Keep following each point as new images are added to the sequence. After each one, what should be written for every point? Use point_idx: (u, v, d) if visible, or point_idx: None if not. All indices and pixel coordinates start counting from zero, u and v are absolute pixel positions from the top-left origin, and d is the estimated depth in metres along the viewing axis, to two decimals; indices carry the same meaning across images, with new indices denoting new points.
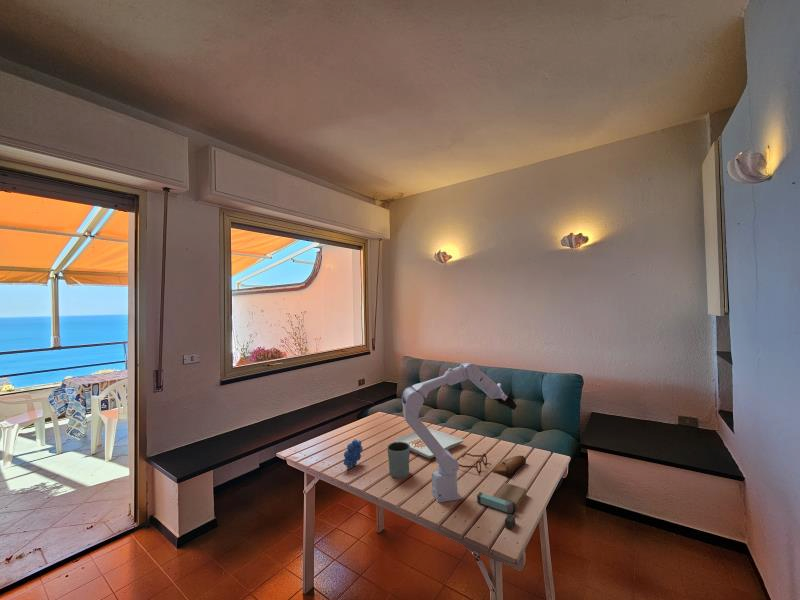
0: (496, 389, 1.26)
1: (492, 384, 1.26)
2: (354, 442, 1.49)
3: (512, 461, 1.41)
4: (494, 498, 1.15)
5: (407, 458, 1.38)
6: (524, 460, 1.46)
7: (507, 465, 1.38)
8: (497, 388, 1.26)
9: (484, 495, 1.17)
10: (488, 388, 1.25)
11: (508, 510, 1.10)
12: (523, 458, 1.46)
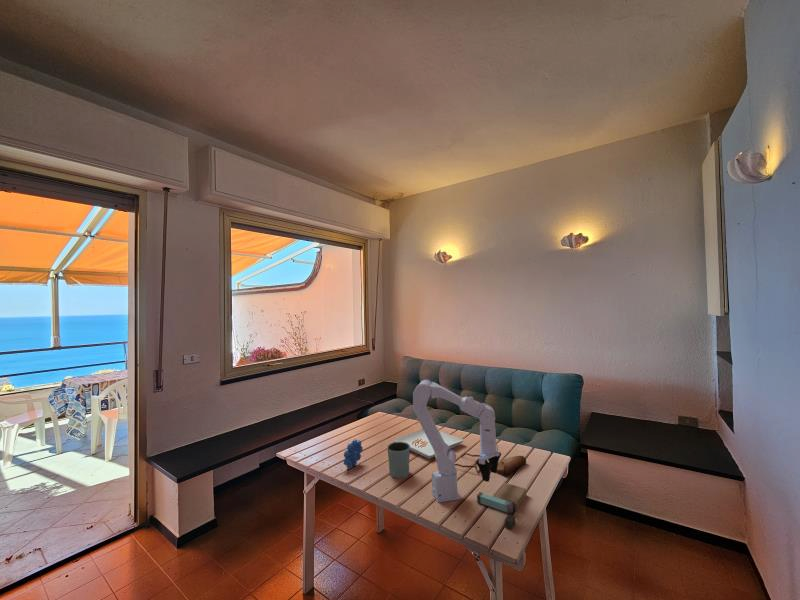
0: (488, 451, 1.17)
1: (489, 444, 1.17)
2: (354, 442, 1.49)
3: (511, 461, 1.42)
4: (494, 498, 1.15)
5: (407, 458, 1.38)
6: (524, 460, 1.46)
7: (505, 464, 1.39)
8: (490, 452, 1.17)
9: (484, 495, 1.17)
10: (483, 442, 1.18)
11: (508, 510, 1.10)
12: (523, 458, 1.46)
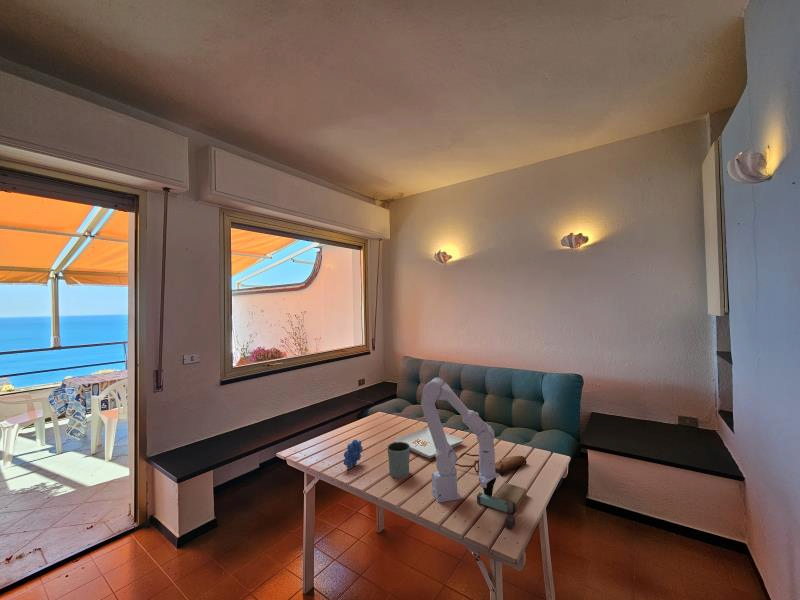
0: (488, 473, 1.15)
1: (489, 466, 1.15)
2: (354, 442, 1.49)
3: (510, 461, 1.42)
4: (494, 498, 1.15)
5: (407, 458, 1.38)
6: (524, 461, 1.45)
7: (502, 463, 1.40)
8: (490, 474, 1.15)
9: (484, 495, 1.17)
10: (482, 464, 1.16)
11: (508, 510, 1.10)
12: (523, 458, 1.46)
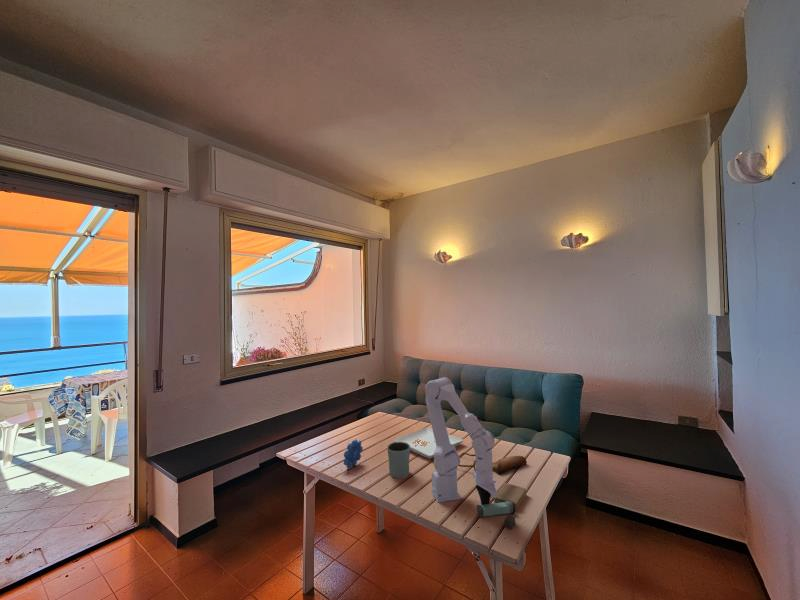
0: (490, 481, 1.10)
1: (491, 473, 1.10)
2: (354, 442, 1.49)
3: (508, 460, 1.43)
4: (494, 504, 1.11)
5: (407, 458, 1.38)
6: (524, 461, 1.45)
7: (500, 463, 1.40)
8: (491, 481, 1.10)
9: (484, 506, 1.10)
10: (485, 473, 1.10)
11: (511, 510, 1.10)
12: (523, 459, 1.45)
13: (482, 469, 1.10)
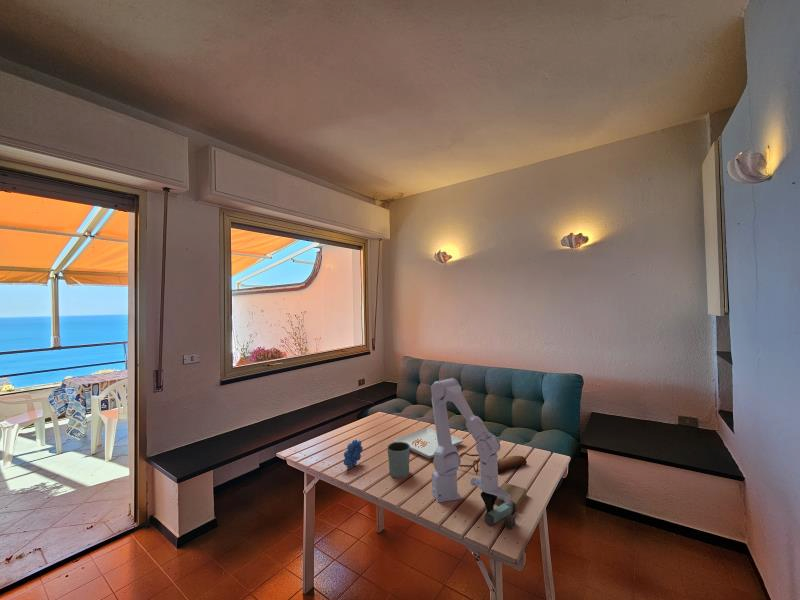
0: (497, 485, 1.07)
1: (497, 477, 1.08)
2: (354, 442, 1.49)
3: (508, 460, 1.43)
4: (498, 508, 1.09)
5: (407, 458, 1.38)
6: (524, 461, 1.45)
7: (499, 462, 1.41)
8: None
9: (491, 513, 1.06)
10: (494, 478, 1.06)
11: (512, 509, 1.10)
12: (523, 459, 1.45)
13: (486, 474, 1.06)
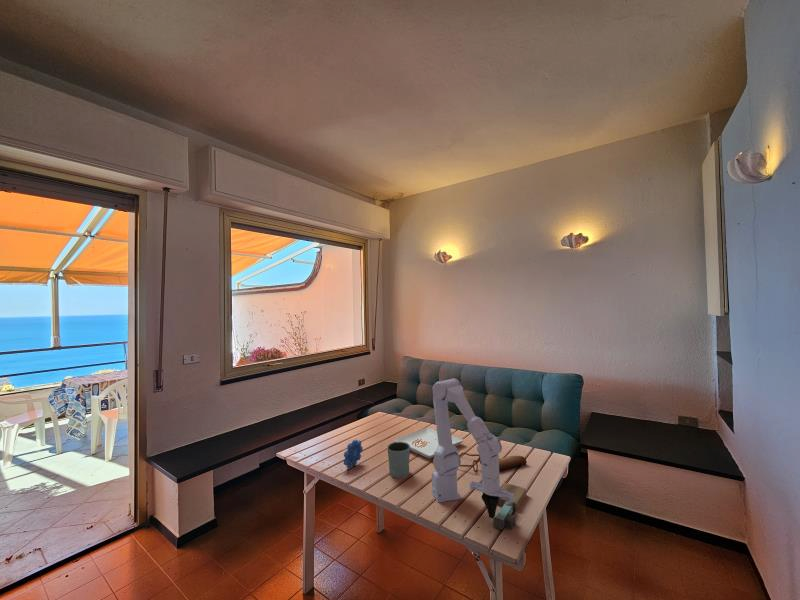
0: (499, 486, 1.06)
1: None
2: (354, 442, 1.49)
3: (507, 459, 1.43)
4: (502, 511, 1.07)
5: (407, 458, 1.38)
6: (523, 461, 1.45)
7: None
8: None
9: (499, 516, 1.04)
10: (497, 479, 1.05)
11: (512, 509, 1.11)
12: (523, 459, 1.45)
13: (487, 476, 1.05)
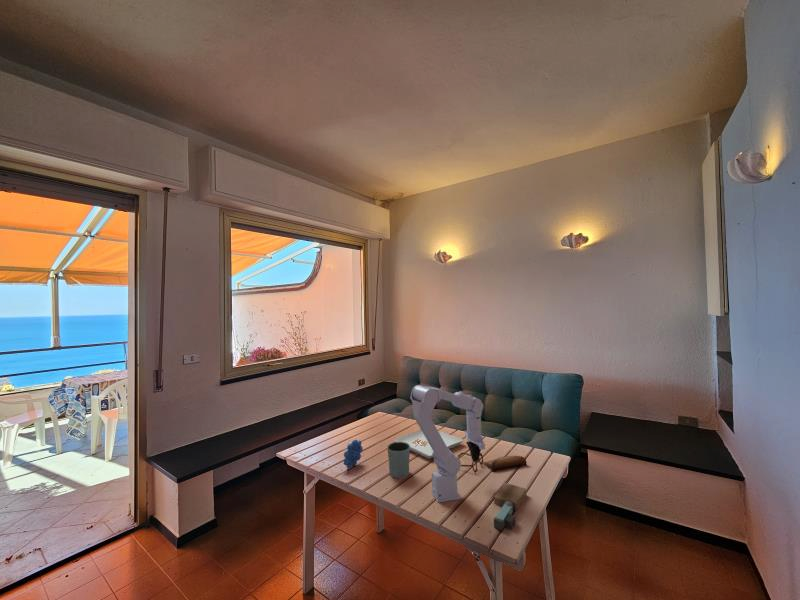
0: (479, 437, 1.29)
1: (479, 430, 1.29)
2: (354, 442, 1.49)
3: (506, 459, 1.44)
4: (502, 511, 1.07)
5: (407, 458, 1.38)
6: (523, 461, 1.45)
7: (496, 460, 1.43)
8: (480, 437, 1.29)
9: (499, 517, 1.04)
10: (474, 430, 1.28)
11: (512, 509, 1.11)
12: (522, 459, 1.45)
13: (480, 426, 1.29)
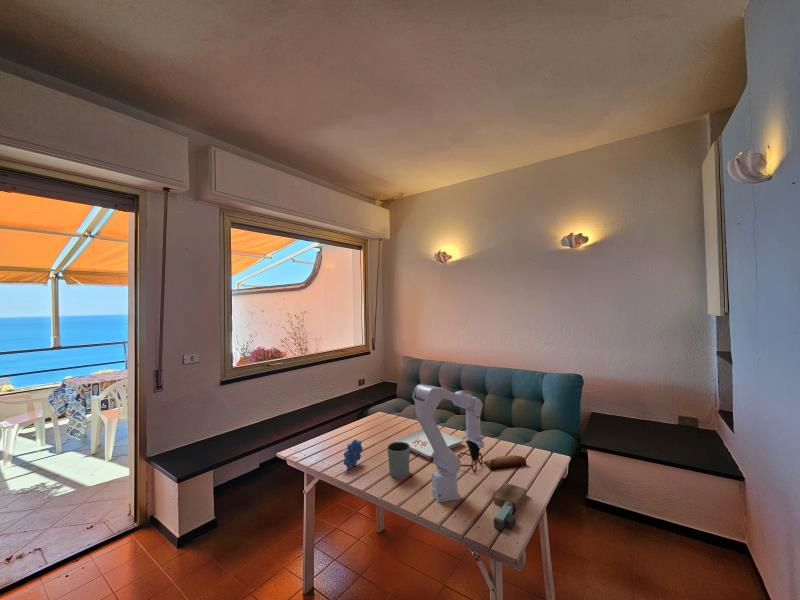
0: (478, 436, 1.30)
1: (479, 429, 1.30)
2: (354, 442, 1.49)
3: (505, 458, 1.45)
4: (502, 511, 1.07)
5: (407, 458, 1.38)
6: (523, 461, 1.44)
7: (495, 459, 1.44)
8: (479, 436, 1.30)
9: (499, 517, 1.04)
10: (474, 429, 1.30)
11: (512, 509, 1.11)
12: (522, 459, 1.45)
13: (479, 425, 1.31)
